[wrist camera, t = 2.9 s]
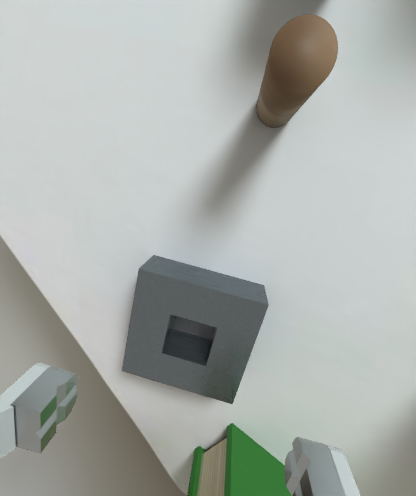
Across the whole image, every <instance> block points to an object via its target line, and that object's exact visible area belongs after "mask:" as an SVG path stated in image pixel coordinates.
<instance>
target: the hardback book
mask: <svg viewBox="0 0 416 496" xmlns="http://www.w3.org/2000/svg"><path fill="white" fill-rule="evenodd" d="M284 468H285V466H284V465H283V464H282V463H281V462H280V461H278V460H277V459H276V458H275V457H273V456H272V455H271V454H270V453H269V452H267V451H266V450H265V449H264V448H262V447H261V446H260V445H259V444H257V443H256V442H255V441H254V440H253V439H251V438H250V437H249V436H248V435H246V434H245V433H244V432H243V431H241V430H240V429H239V428H238V427H237V426H235V425H234V424H233V423H232V424H230V425H229V426H227V438H225V439H224V440H222V441H221V442H219V443H218V444H217V445H215V446H214V447H212V448H211V449H209V450H208V451H205V450H204V449H203V448H201V447H200V446H198V447H197V448H196V449H195V452H194V458H193V464H192V470H191V476H190V483H189V489H188V495H187V496H292V495H291V494H290V492H289V490H288V489H287V487H286V482H285V469H284Z"/></svg>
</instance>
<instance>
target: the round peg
mask: <svg viewBox="0 0 416 496" xmlns="http://www.w3.org/2000/svg"><path fill="white" fill-rule="evenodd" d="M337 53H338V42H337V37H336V34H335V32H334V30H333V28H332V26H331V25H330V24H329V23H328V22H327V21H326V20H325V19H323V18H321V17H319V16H316V15H301V16H298V17H296V18H294V19H292V20H290V21H289V22H287V23H286V24H285V25H284V26H283V27H282V28H281V29H280V30H279V32H278V33H277V35H276V36H275V38H274V40H273V43H272V46H271V49H270V53H269V57H268V61H267V65H266V69H265V73H264V77H263V81H262V85H261V89H260V93H259V97H258V101H257V107H256V109H257V115H258V118H259V120H260V121H261V122H262V123H263V124H264V125H266V126H268V127H272V128H275V127H280V126H282V125H284V124H286V123H287V122H288V121H289V120H290V119H291V118H292V116H293V115H294V114H295V113H296V112H297V111H298V110H299V109H300V107H301V106H302V105H303V104H304V103H305V102H306V101H307V100H308V98H309V97H310V96H311V95H312V94H313V93H314V92H315V90H316V89H317V88H318V87H319V86H320V85H321V84H322V83H323V81H324V80H325V79H326V78H327V77H328V75H329V74H330V72H331V71H332V69H333V67H334V64H335V62H336V58H337Z"/></svg>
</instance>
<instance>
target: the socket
mask: <svg viewBox="0 0 416 496" xmlns="http://www.w3.org/2000/svg"><path fill="white" fill-rule="evenodd" d="M267 308H268V301H267V296H266V292H265V288H264V285H260V284H257V283H253V282H250V281H246V280H242V279H239V278H235V277H231V276H228V275H224V274H221V273H217V272H213V271H210V270H206V269H202V268H199V267H195V266H191V265H188V264H184V263H181V262H177V261H173V260H170V259H166V258H162V257H159V256H155V255H153V256H152V257H151V258H150V259H149V260H148V261H147V262H146V263H145V264H144V265H142V266H141V267H140V268H139V271H138V277H137V283H136V289H135V295H134V301H133V307H132V313H131V319H130V325H129V332H128V338H127V344H126V350H125V356H124V362H123V368H122V371H124V372H127V373H131V374H134V375H137V376H141V377H144V378H147V379H151V380H154V381H157V382H161V383H164V384H167V385H171V386H174V387H177V388H180V389H184V390H187V391H190V392H194V393H197V394H200V395H204V396H207V397H210V398H214V399H217V400H220V401H224V402H227V403H230V404H232V403H233V401H234V398H235V395H236V392H237V390H238V387H239V384H240V382H241V379H242V376H243V373H244V371H245V368H246V365H247V362H248V360H249V357H250V354H251V351H252V349H253V346H254V343H255V341H256V338H257V335H258V332H259V330H260V327H261V324H262V321H263V319H264V316H265V313H266V310H267ZM175 316H178V317H181V318H185V319H188V320H192V321H195V322H198V323H202V324H205V325H209V326H212V327H214V330H213V333H212V337H211V340H209V339H205V338H202V337H198V336H195V335H191V334H188V333H184V332H181V331H178V330H174V329H172V328H173V324H174V319H175Z"/></svg>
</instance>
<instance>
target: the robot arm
mask: <svg viewBox="0 0 416 496" xmlns="http://www.w3.org/2000/svg"><path fill="white" fill-rule="evenodd" d="M77 382H78V375H77V374H74V373H71V372H68V371H65V370H62V369H58V368H56V367H52V366H49V365H46V364H42V363H37V364H35V365H33V366H32V367H31V368H30V369H29V370H28V371H27V372H25V373H24V374H23V375H22V376H21V377H20V378H19V379H18V380H17V381H16V382H14V383H13V384H12V385H11V386H10V387H9V388H8V389H7V390H6V391H5V392H3V393H2V394H1V395H0V459H1V458H2V457H4V456H5V455H7V454H8V453H10V452H11V451H13V450H14V449H16V447H20V448H23V449H27V450H31V451H35V452H38V453H41V452H42V451H43V449H44V448H45V447H46V445H47V444H48V443H49V441H50V440H51V439H52V437H53V436H54V434H55V433H56V425H57V424H58V423H60V422H62V421H64V420H65V419H66V418H67V416H68V415H69V414H70V412H71V410H72V408H73V406H74V404H75V402H76V399H77V392H78V391H77V389H76V387H75V385H76V384H77ZM292 444H293V450H292V451H290V452H288V454H287V457H286V460H285V468H284V469H285V482H286V487H287V489H288V490H289V492H290V494H291V495H292V496H361V495H360V493H359V490H358V487H357V485H356V482H355V480H354V477H353V474H352V472H351V469H350V467H349V464H348V461H347V459H346V456H345V454H344V452H343V451H342V450H341V449H338V448H335V447H331V446H327V445H325V444H322V443H318V442H314V441H311V440H307V439H303V438H300V437H296V438H295V439H294V441H293V443H292Z"/></svg>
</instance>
